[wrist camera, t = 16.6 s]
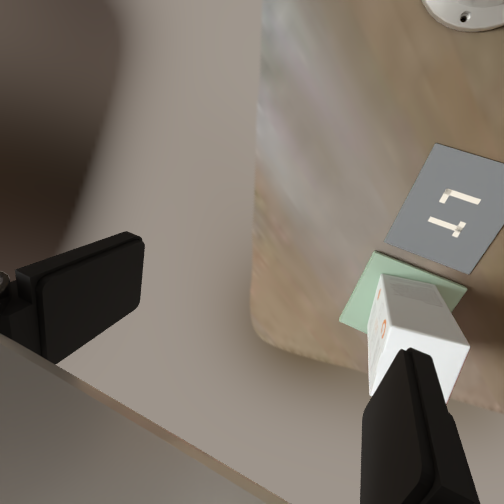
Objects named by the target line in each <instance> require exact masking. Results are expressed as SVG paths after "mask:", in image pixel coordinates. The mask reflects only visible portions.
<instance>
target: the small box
mask: <svg viewBox="0 0 504 504" xmlns="http://www.w3.org/2000/svg"><path fill="white" fill-rule="evenodd" d="M367 332H368V367H369V394H370V396H373V394H374V392H375V391H376V389H377V387H378V386H379V384H380V382H381V381H382V379H383V377H384V375H385V374H386V372H387V370H388V369H389V367H390V365H391V363H392V362H393V360H394V358H395V357H396V355H397V353H398V352H399V350H400V349H403V350H407V349H408V348H410V347H411V348H413V349H416V350H418V351H421V352H423V353H426V354H428V355H430V356H431V357H432V359H433V362H434V366H435V369H436V372H437V376H438V379H439V383H440V386H441V389H442V393H443V396H444V399H445V403H446V405H447V403H448V400H449V398H450V396H451V393H452V391H453V388H454V386H455V384H456V381H457V379H458V377H459V374H460V372H461V369H462V367H463V365H464V362H465V360H466V357H467V355H468V353H469V350H470V348H471V346H470V345H469V343H468V341H467V339H466V338H465V336H464V334H463V332H462V331H461V329H460V327H459V325H458V324H457V322H456V320H455V319H454V317H453V315H452V313H451V312H450V310H449V308H448V306H447V305H446V303H445V301H444V299H443V298H442V296H441V294H440V292H439V291H438V289H437V287H436V285H434V284H430V283H425V282H420V281H415V280H410V279H405V278H401V277H396V276H391V275H386V274H381V275H380V278H379V282H378V286H377V289H376V293H375V297H374V301H373V304H372V308H371V312H370V316H369V320H368V324H367Z"/></svg>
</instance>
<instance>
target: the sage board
mask: <svg viewBox="0 0 504 504" xmlns="http://www.w3.org/2000/svg"><path fill="white" fill-rule="evenodd" d="M381 274H386V275H391V276H396V277H401V278H405V279H410V280H415V281H420V282H425V283H430V284H434V285H436V287H437V289H438V291H439V292H440V294H441V296H442V298H443V299H444V301H445V303H446V305H447V306H448V308H449V310H450V312H452V311H453V309H454V308H455V306H456V305H457V304H458V302H459V301H460V299H461V298H462V296H463V295H464V294H465V292H466V291H467V288H466V286H463V285H461V284H458V283H456V282H453V281H450V280H448V279H445V278H443V277H440V276H438V275H435V274H433V273H430V272H428V271H425V270H423V269H420V268H418V267H415V266H412V265H410V264H407V263H405V262H402V261H400V260H397V259H395V258H392V257H390V256H387V255H385V254H382V253H380V252H377V251H374V252H373V254H372V256H371V258H370V260H369V262H368V264H367V266H366V268H365V270H364V272H363V274H362V275H361V277H360V279H359V281H358V283H357V285H356V287H355V289H354V291H353V293H352V295H351V297H350V299H349V301H348V303H347V304H346V306H345V308H344V310H343V312H342V314H341V316H340V318H339V321H340V322H342V323H344V324H346V325H349V326H351V327H353V328H355V329H357V330H360V331H362V332H364V333H366V334H368V332H367V324H368V320H369V316H370V312H371V308H372V304H373V301H374V297H375V293H376V289H377V286H378V282H379V278H380V275H381Z"/></svg>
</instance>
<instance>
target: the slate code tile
mask: <svg viewBox="0 0 504 504" xmlns="http://www.w3.org/2000/svg"><path fill="white" fill-rule="evenodd" d="M503 225H504V164H503V163H500V162H496V161H493V160H490V159H487V158H483V157H480V156H477V155H473V154H470V153H467V152H463V151H460V150H457V149H453V148H450V147H447V146H443V145H440V144H437V143H435V145H434V147H433V149H432V150H431V152H430V154H429V156H428V158H427V160H426V162H425V164H424V166H423V168H422V170H421V171H420V173H419V175H418V177H417V179H416V181H415V183H414V185H413V187H412V189H411V191H410V192H409V194H408V196H407V198H406V200H405V202H404V204H403V206H402V208H401V210H400V212H399V213H398V215H397V217H396V219H395V221H394V223H393V225H392V227H391V229H390V231H389V233H388V234H387V236H386V238H385V240H384V242H385V243H388V244H391V245H393V246H396V247H398V248H401V249H404V250H406V251H409V252H411V253H414V254H416V255H419V256H422V257H424V258H427V259H429V260H432V261H435V262H437V263H440V264H442V265H445V266H448V267H450V268H453V269H455V270H458V271H461V272H463V273H466V274H468V275H469V274H470V272H471V271H472V270H473V268H474V267H475V265H476V264H477V262H478V261H479V259H480V258H481V257H482V255H483V254H484V252H485V251H486V249H487V248H488V246H489V245H490V243H491V242H492V241H493V239H494V238H495V236H496V235H497V233H498V232H499V230H500V229H501V228H502V226H503Z"/></svg>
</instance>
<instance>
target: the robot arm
mask: <svg viewBox="0 0 504 504" xmlns="http://www.w3.org/2000/svg"><path fill="white" fill-rule="evenodd" d="M422 3H423V4H424V6H425V8H426V9H427V11H428V13H429V14H430V15H431V16H432V17H433V18H434V19H435V20H436V21H437V22H439V23H441V24H443V25H444V26H446V27H448V28H451V29H455V30H458V31H466V32H479V31H486V30H492V29H495V28H498V27H501V26H504V0H422ZM461 18H465V20H466V21H465V22H461V21H460V19H461ZM144 249H145V244H144V243H143V241H142V238H141V237H140V236H137V235H134V234H132V233H130V232H127V231H126V232H122V233H119V234H116V235H114V236H111V237H108V238H105V239H102V240H99V241H96V242H94V243H91V244H88V245H85V246H82V247H79V248H76V249H73V250H70V251H68V252H65V253H62V254H59V255H56V256H53V257H50V258H47V259H45V260H42V261H39V262H36V263H33V264H30V265H28V266H25V267H22V268H19V269H16V270H15V273H16V280H15V281H12V282H10V278H9V276H8V275H7V274H6V273H4V272H1V271H0V504H290V503H288V502H287V501H285V500H284V499H282V498H280V497H279V496H277V495H276V494H274V493H272V492H270V491H269V490H267V489H265V488H264V487H262V486H260V485H259V484H257V483H255V482H254V481H252V480H250V479H249V478H247V477H245V476H243V475H242V474H240V473H239V472H237V471H235V470H234V469H232V468H230V467H228V466H227V465H225V464H223V463H222V462H220V461H218V460H217V459H215V458H213V457H212V456H210V455H208V454H207V453H205V452H203V451H202V450H200V449H198V448H196V447H195V446H193V445H191V444H190V443H188V442H186V441H185V440H183V439H181V438H180V437H178V436H176V435H175V434H173V433H171V432H169V431H168V430H166V429H164V428H163V427H161V426H159V425H158V424H156V423H154V422H152V421H151V420H149V419H147V418H146V417H144V416H142V415H141V414H139V413H137V412H135V411H134V410H132V409H130V408H129V407H127V406H125V405H123V404H122V403H120V402H118V401H117V400H115V399H113V398H111V397H110V396H108V395H106V394H105V393H103V392H101V391H100V390H98V389H96V388H94V387H93V386H91V385H89V384H88V383H86V382H84V381H82V380H81V379H79V378H77V377H76V376H74V375H72V374H70V373H69V372H67V371H65V370H63V369H62V368H60V367H58V366H57V365H55V364H57V363H59V362H60V361H61V360H63V359H64V358H66V357H67V356H69V355H70V354H72V353H73V352H74V351H76V350H77V349H79V348H80V347H82V346H83V345H84V344H86V343H87V342H89V341H90V340H92V339H93V338H95V337H96V336H97V335H99V334H100V333H102V332H103V331H105V330H106V329H107V328H109V327H110V326H112V325H113V324H115V323H116V322H118V321H119V320H120V319H122V318H123V317H125V316H126V315H128V314H129V313H131V312H132V311H133V310H135V309H136V308H137V307H138V305H139V303H140V295H141V284H142V271H143V260H144ZM360 504H480V501H479V498H478V495H477V492H476V489H475V485H474V482H473V479H472V476H471V472H470V469H469V466H468V463H467V459H466V456H465V453H464V450H463V447H462V444H461V440H460V437H459V434H458V430H457V427H456V424H455V421H454V419H453V417H452V415H451V414H450V413H448V410H447V406H446V403H445V399H444V396H443V393H442V389H441V386H440V383H439V379H438V376H437V372H436V369H435V366H434V362H433V359H432V357H431V356H430V355H428V354H426V353H423V352H421V351H418V350H416V349H413V348H411V347H410V348H408V349H407V350H403V349H400V350H399V352H398V353H397V355H396V357H395V358H394V360H393V362H392V363H391V365H390V367H389V369H388V370H387V372H386V374H385V375H384V377H383V379H382V381H381V382H380V384H379V386H378V387H377V389H376V391H375V392H374V394H373V396H372V398H371V399H370V401H369V403H368V405H367V406H366V408H365V410H364V413H363V419H362V452H361V489H360Z"/></svg>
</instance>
